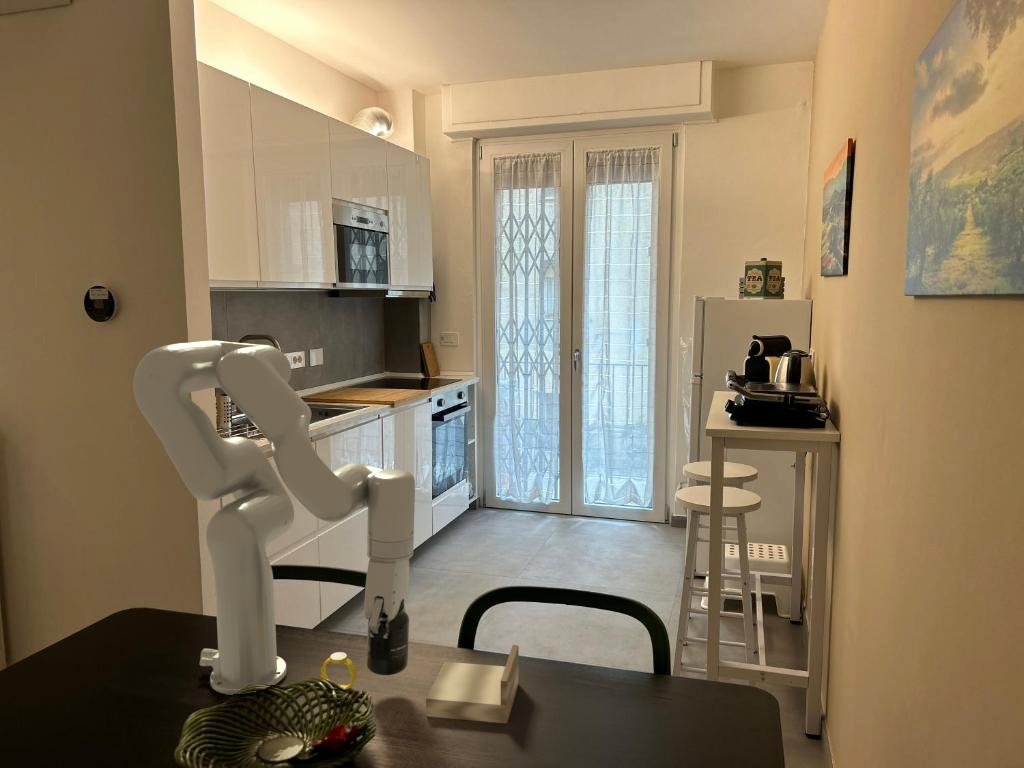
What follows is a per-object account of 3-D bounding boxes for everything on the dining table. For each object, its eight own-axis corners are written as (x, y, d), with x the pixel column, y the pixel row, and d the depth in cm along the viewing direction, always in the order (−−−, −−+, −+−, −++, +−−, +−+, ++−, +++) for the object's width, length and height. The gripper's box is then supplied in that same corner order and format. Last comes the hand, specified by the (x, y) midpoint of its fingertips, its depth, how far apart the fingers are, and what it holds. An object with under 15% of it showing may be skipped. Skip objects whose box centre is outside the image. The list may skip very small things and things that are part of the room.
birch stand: (426, 716, 118) (425, 674, 118) (444, 678, 130) (444, 639, 129) (507, 723, 116) (506, 681, 116) (518, 684, 128) (518, 645, 127)
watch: (357, 687, 128) (359, 654, 127) (351, 696, 125) (352, 662, 124) (325, 681, 129) (326, 649, 128) (318, 689, 126) (319, 656, 126)
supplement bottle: (399, 679, 121) (401, 609, 120) (360, 673, 122) (361, 603, 121) (413, 659, 128) (415, 592, 126) (376, 653, 129) (377, 587, 128)
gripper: (385, 527, 132) (383, 623, 134) (348, 562, 114) (347, 671, 117) (426, 531, 130) (423, 627, 133) (395, 567, 113) (393, 677, 116)
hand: (387, 647), depth 125 cm, fingers closed on supplement bottle, 6 cm apart
